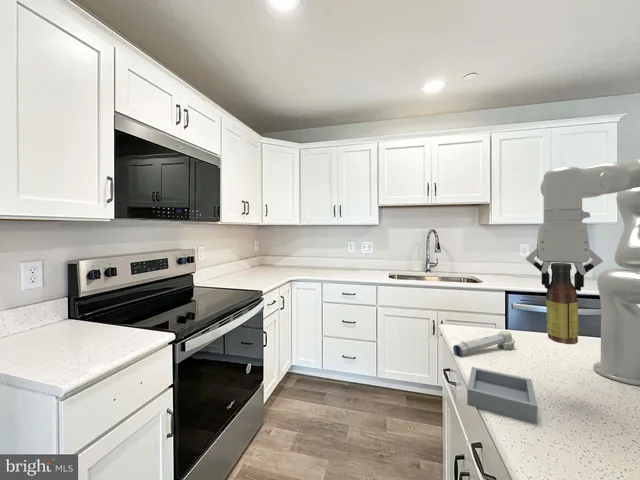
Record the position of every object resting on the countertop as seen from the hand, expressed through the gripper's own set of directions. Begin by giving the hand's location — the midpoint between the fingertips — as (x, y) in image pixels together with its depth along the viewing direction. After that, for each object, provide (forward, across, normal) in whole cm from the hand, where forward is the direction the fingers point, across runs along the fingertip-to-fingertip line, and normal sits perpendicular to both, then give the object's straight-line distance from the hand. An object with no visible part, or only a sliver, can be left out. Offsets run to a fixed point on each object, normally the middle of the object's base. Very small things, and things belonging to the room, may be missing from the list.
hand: (561, 288), depth 74 cm
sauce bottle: (+14, 0, 0) cm, 14 cm away
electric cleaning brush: (+29, +18, -24) cm, 42 cm away
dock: (+28, +13, +9) cm, 33 cm away
